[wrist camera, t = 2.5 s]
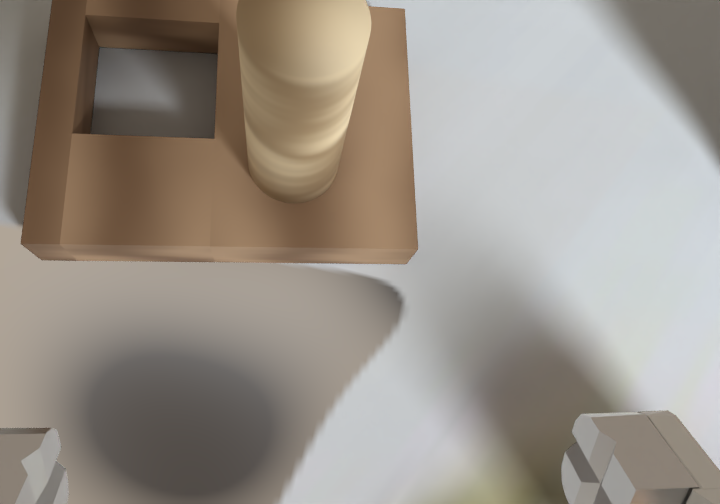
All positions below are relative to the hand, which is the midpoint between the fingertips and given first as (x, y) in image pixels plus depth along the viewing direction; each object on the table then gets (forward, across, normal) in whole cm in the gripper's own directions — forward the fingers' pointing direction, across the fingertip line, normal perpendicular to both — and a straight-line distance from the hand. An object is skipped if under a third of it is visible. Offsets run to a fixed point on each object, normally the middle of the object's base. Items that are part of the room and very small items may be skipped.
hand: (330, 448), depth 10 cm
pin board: (+23, +3, +3) cm, 23 cm away
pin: (+20, 0, +2) cm, 20 cm away
